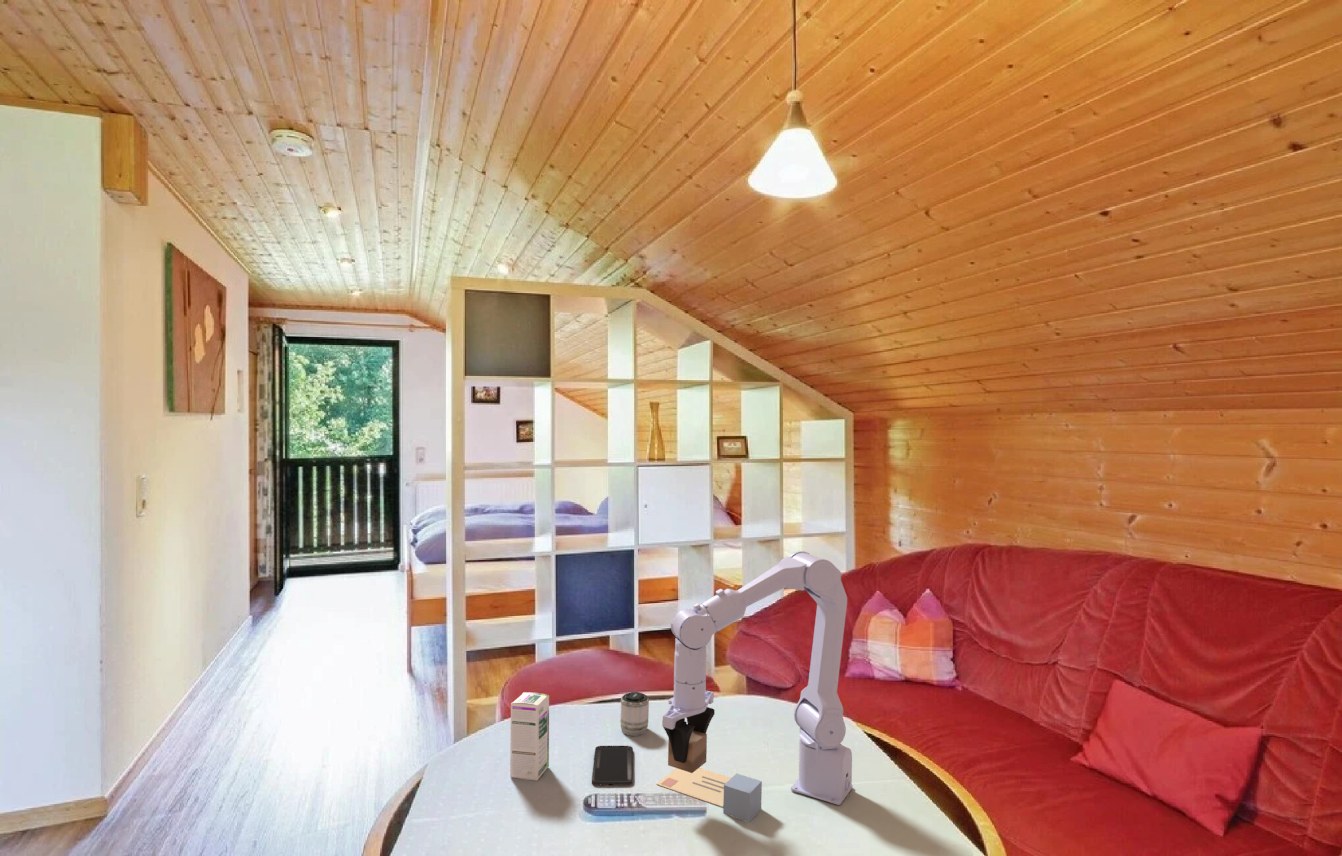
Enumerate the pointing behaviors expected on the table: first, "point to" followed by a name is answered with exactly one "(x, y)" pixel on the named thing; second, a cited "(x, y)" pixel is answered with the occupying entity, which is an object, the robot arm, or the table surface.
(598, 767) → the phone
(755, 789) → the cube
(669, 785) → the envelope
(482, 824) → the table surface
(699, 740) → the walnut block
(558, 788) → the table surface
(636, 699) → the camera lens
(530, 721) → the syrup box
